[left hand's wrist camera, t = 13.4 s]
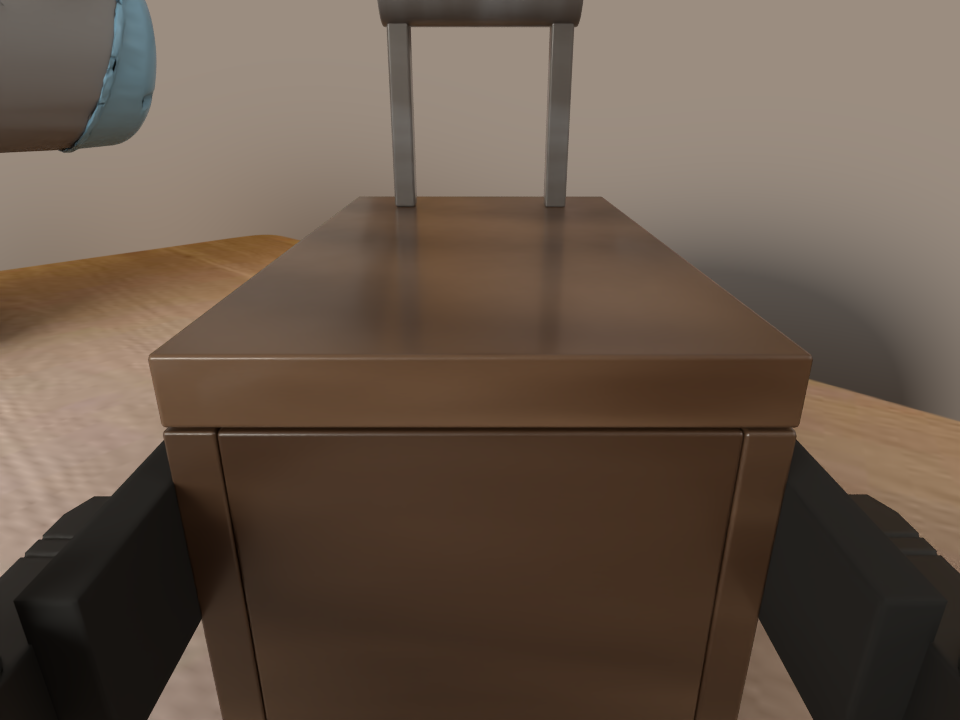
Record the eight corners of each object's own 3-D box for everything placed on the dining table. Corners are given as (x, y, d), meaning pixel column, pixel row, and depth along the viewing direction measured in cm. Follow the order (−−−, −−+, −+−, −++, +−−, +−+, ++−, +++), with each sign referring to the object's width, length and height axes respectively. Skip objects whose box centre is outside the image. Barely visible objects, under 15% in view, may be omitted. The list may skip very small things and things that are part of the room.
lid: (359, 226, 25) (341, -37, 22) (600, 227, 25) (619, -37, 22) (160, 429, 9) (-15, -401, 6) (800, 430, 9) (974, -399, 6)
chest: (371, 438, 28) (356, 231, 24) (588, 438, 28) (604, 231, 24) (244, 828, 13) (161, 432, 9) (716, 828, 13) (800, 432, 9)
